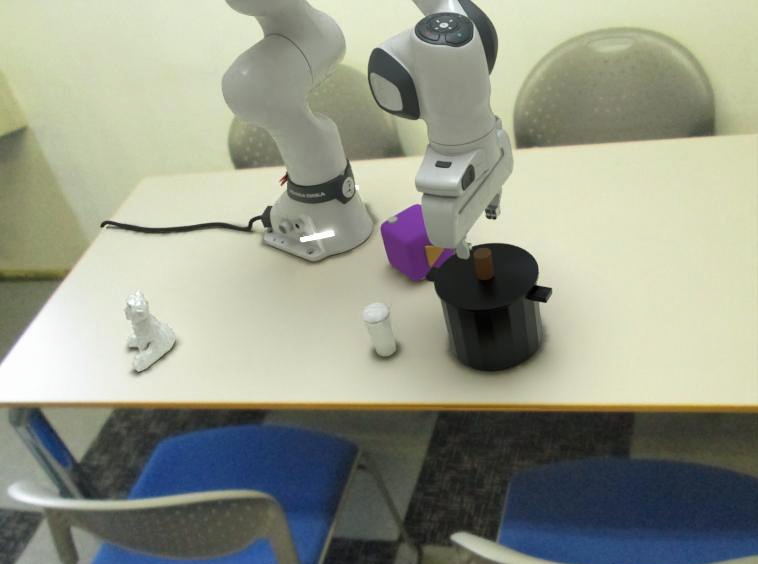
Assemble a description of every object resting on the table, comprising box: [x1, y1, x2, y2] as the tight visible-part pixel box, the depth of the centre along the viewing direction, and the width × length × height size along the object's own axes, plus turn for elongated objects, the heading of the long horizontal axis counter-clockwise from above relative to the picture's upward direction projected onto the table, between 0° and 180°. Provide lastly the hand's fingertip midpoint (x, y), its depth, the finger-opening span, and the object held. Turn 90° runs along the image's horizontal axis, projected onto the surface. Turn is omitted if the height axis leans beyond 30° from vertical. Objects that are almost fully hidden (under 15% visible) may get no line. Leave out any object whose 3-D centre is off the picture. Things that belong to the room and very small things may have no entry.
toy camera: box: [379, 203, 454, 282], centre depth 143 cm, size 11×14×10 cm
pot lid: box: [433, 242, 540, 313], centre depth 119 cm, size 16×16×5 cm
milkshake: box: [361, 302, 397, 357], centre depth 128 cm, size 4×5×10 cm
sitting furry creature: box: [123, 289, 176, 373], centre depth 139 cm, size 10×9×12 cm
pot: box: [425, 267, 553, 372], centre depth 124 cm, size 15×20×12 cm
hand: (479, 235), depth 114 cm, fingers open, 8 cm apart
